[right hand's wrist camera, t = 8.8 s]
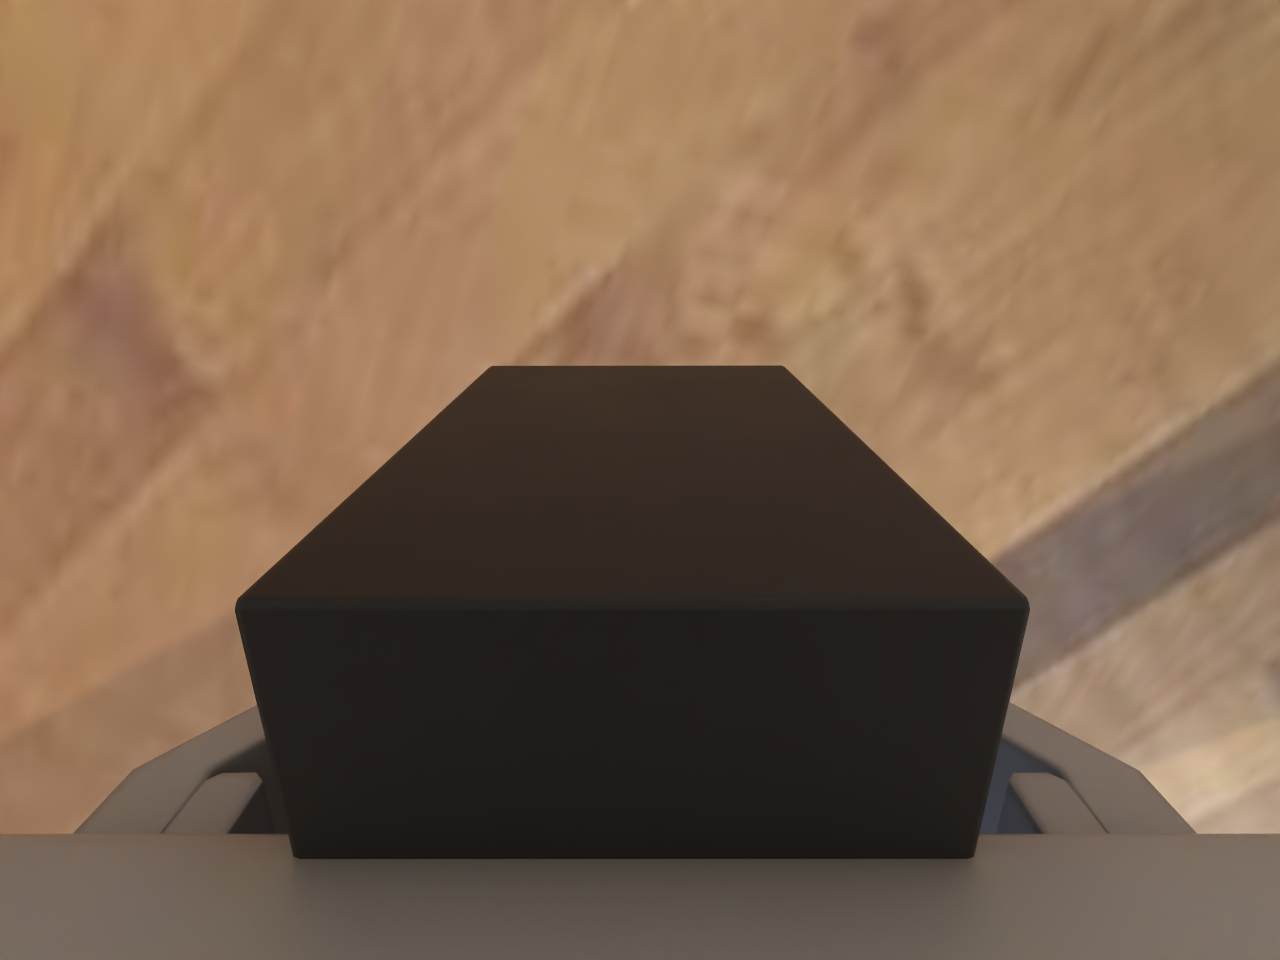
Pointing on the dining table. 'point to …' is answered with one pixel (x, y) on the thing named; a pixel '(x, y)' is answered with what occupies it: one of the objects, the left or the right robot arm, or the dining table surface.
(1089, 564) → the dining table surface
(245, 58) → the dining table surface
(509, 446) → the bar
